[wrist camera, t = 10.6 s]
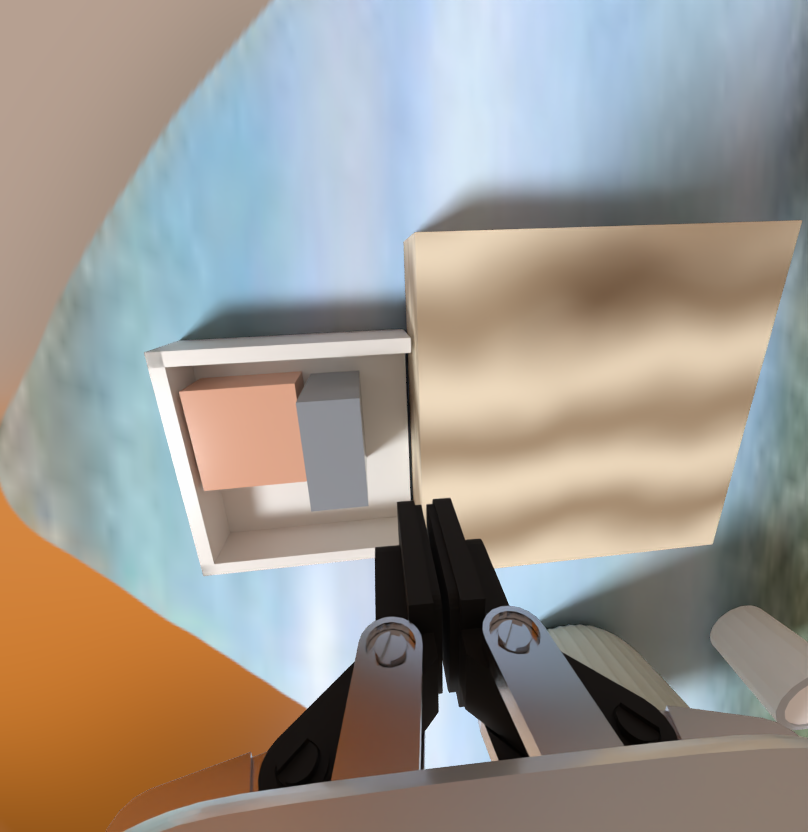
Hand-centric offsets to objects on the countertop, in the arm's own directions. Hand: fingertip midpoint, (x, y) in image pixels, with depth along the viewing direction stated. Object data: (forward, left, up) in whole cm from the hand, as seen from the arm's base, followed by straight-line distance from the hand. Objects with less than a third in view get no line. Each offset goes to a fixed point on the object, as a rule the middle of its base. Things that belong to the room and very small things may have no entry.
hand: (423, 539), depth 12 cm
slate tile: (+1, -2, -11) cm, 11 cm away
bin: (+2, -6, -15) cm, 16 cm away
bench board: (0, +11, -15) cm, 19 cm away
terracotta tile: (+1, -8, -11) cm, 14 cm away
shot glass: (+25, +32, -15) cm, 44 cm away
